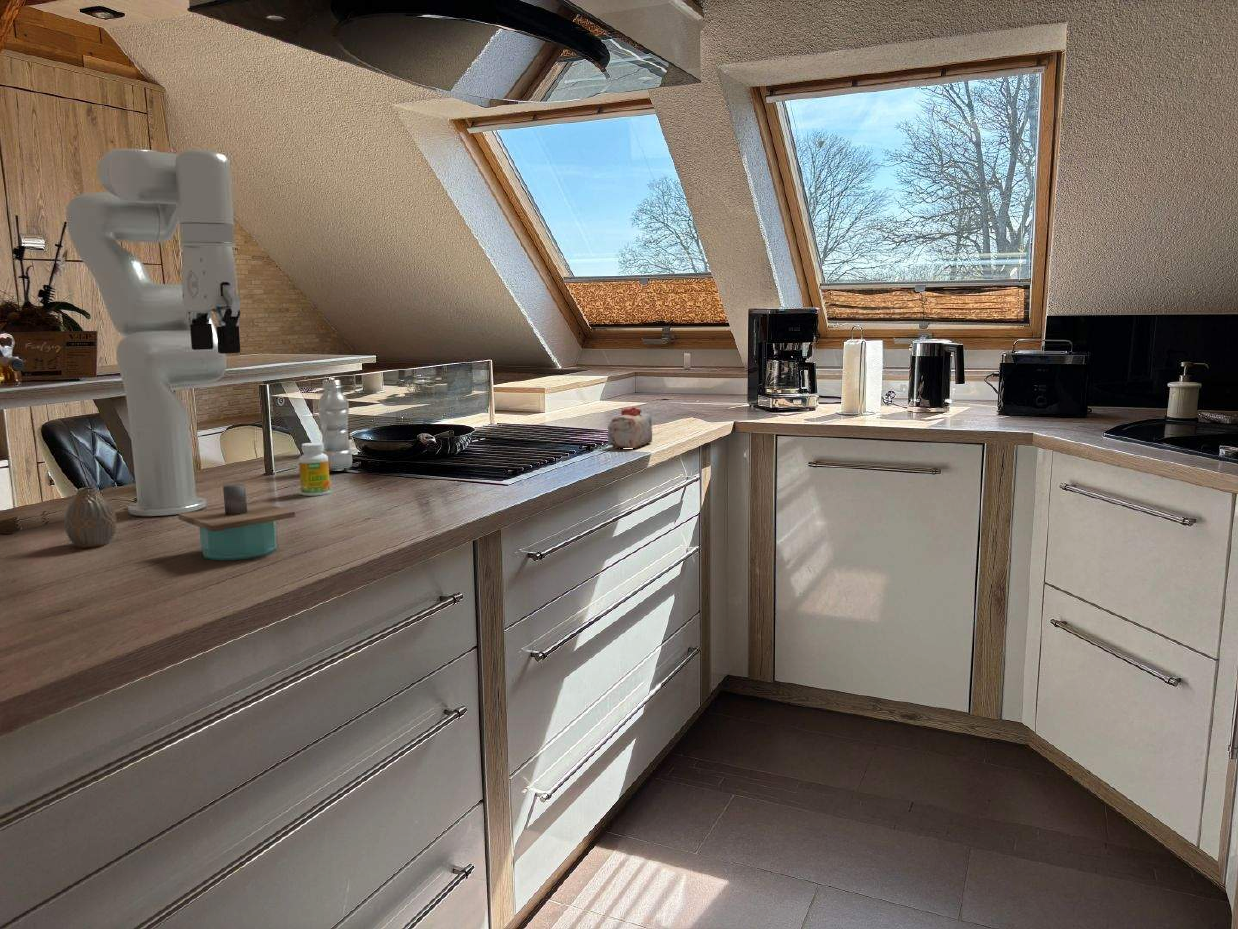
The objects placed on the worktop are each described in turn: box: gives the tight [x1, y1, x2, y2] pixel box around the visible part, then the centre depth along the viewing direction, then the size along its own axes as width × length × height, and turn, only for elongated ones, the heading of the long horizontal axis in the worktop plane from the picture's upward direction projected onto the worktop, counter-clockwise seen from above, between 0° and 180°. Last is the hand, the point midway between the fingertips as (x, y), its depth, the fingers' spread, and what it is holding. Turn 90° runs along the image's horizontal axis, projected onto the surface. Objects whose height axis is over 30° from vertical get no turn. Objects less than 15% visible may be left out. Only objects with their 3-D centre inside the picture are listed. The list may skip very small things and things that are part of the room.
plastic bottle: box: [317, 379, 353, 470], centre depth 207 cm, size 6×7×20 cm
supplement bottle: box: [298, 442, 331, 497], centre depth 182 cm, size 5×5×10 cm
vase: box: [63, 486, 117, 549], centre depth 144 cm, size 7×7×9 cm
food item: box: [607, 407, 653, 449], centre depth 238 cm, size 14×8×10 cm, turn 158°
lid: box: [177, 483, 296, 532], centre depth 138 cm, size 12×12×5 cm
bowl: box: [199, 521, 277, 561], centre depth 139 cm, size 10×10×5 cm
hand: (215, 351), depth 146 cm, fingers open, 9 cm apart
